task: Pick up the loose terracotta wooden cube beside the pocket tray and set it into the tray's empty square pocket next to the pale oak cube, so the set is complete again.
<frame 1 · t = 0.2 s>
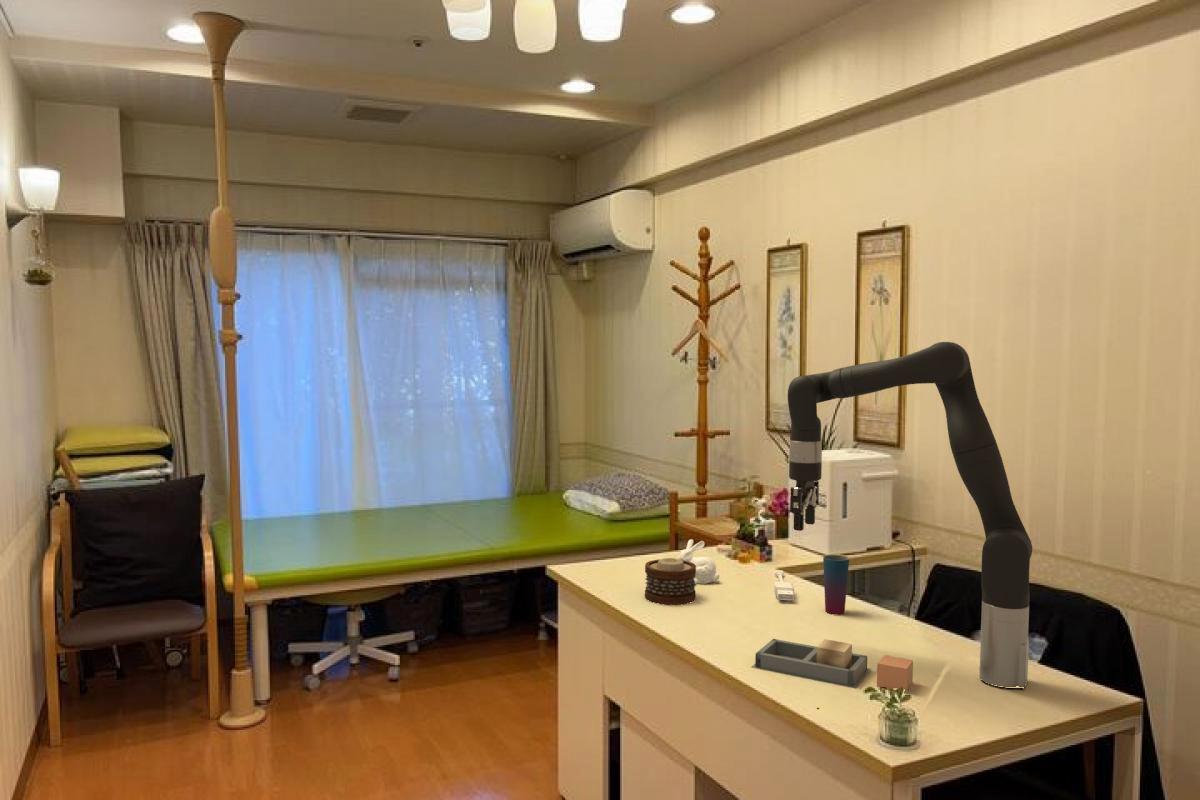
hand: (804, 527, 214), 29 cm above the table, tool pointing down, fingers open, 8 cm apart
rabbit: (696, 581, 273), on the table
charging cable: (782, 589, 265), on the table
spiked roller: (670, 598, 255), on the table
oak cube: (833, 672, 196), point 1 cm above the table, touching pocket tray
pocket tray: (810, 672, 198), on the table
cup: (834, 612, 242), on the table
terracotta cube: (894, 689, 189), on the table
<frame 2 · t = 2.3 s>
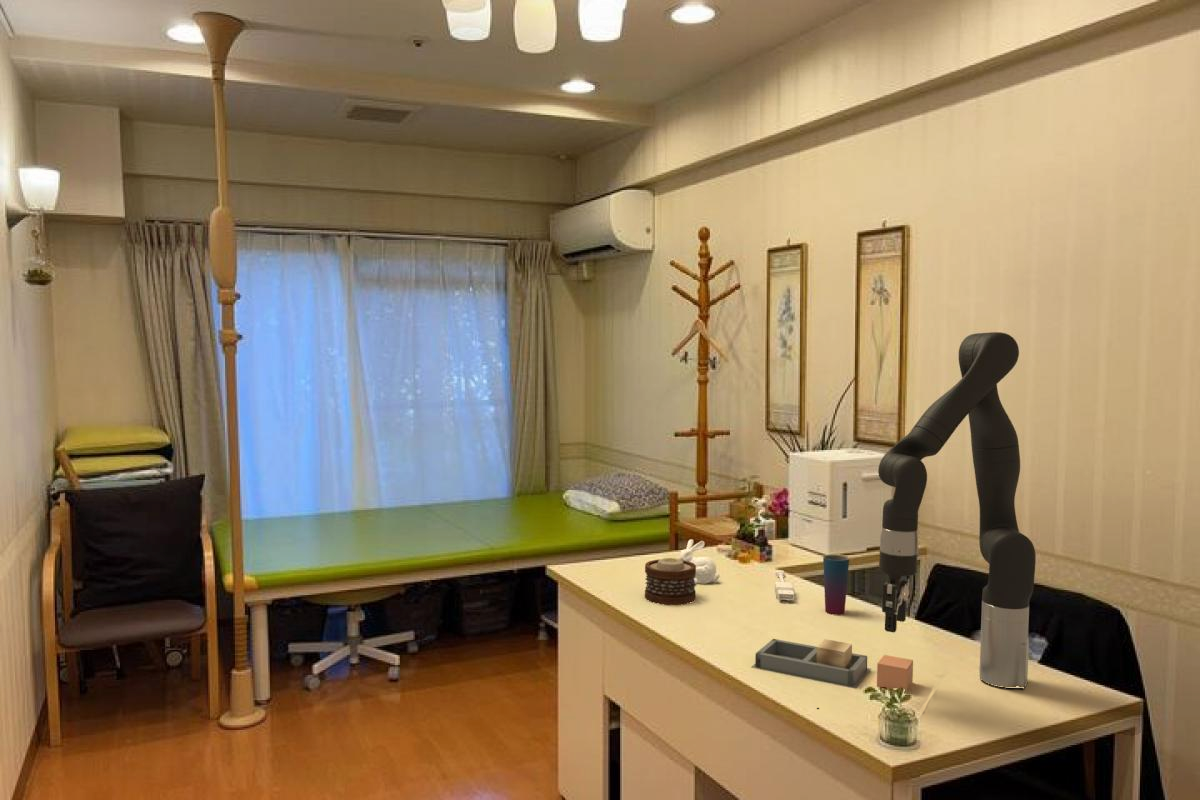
hand: (895, 626, 188), 13 cm above the table, tool pointing down, fingers open, 8 cm apart
nothing on the table moved.
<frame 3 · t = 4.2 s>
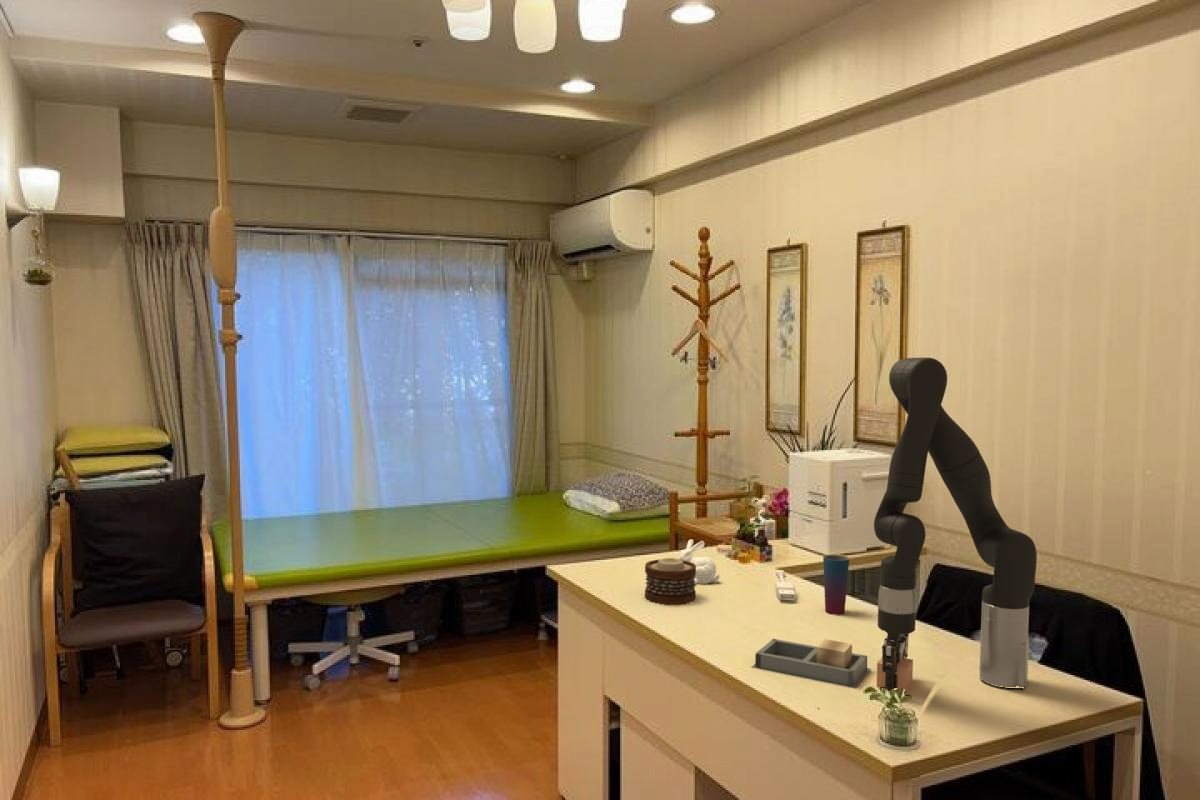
hand: (894, 685, 189), 1 cm above the table, tool pointing down, fingers closed on terracotta cube, 6 cm apart
terracotta cube: (894, 689, 189), on the table, touching gripper
everything else where it was.
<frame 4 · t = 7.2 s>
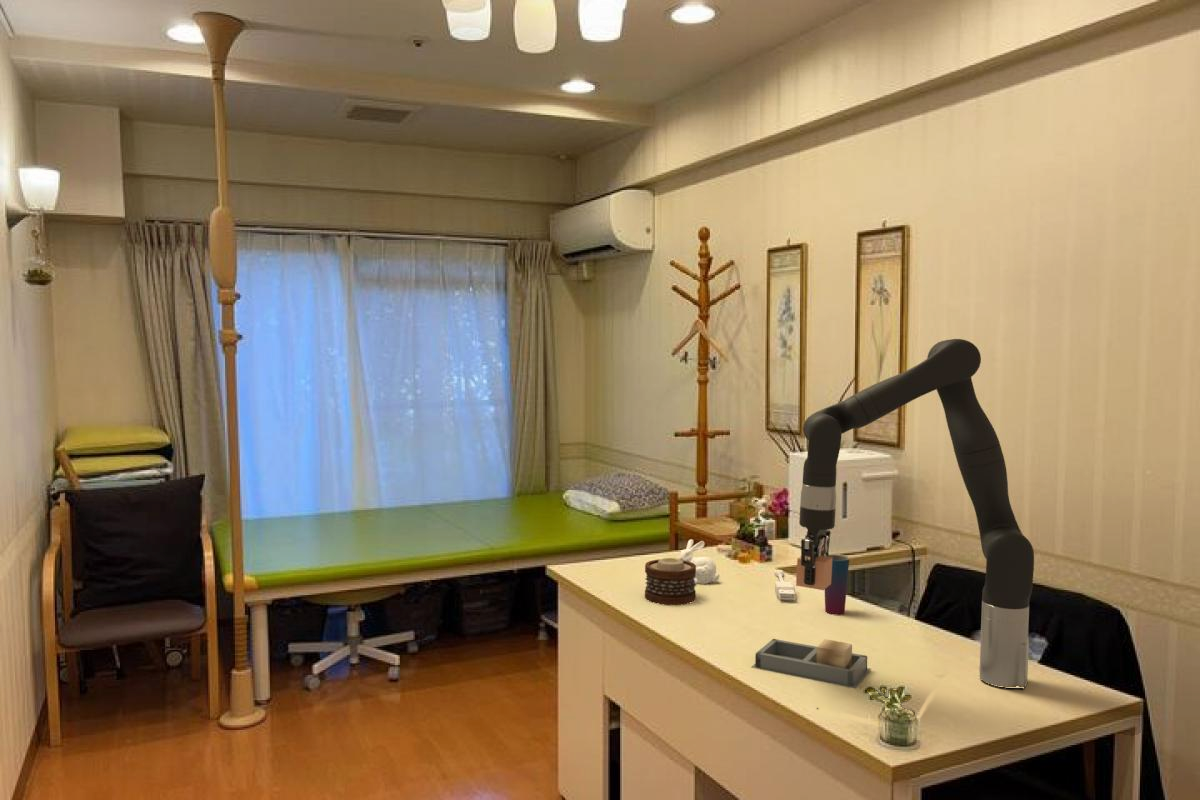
hand: (813, 580, 196), 21 cm above the table, tool pointing down, fingers closed on terracotta cube, 6 cm apart
terracotta cube: (813, 584, 196), point 20 cm above the table, touching gripper
everything else where it was.
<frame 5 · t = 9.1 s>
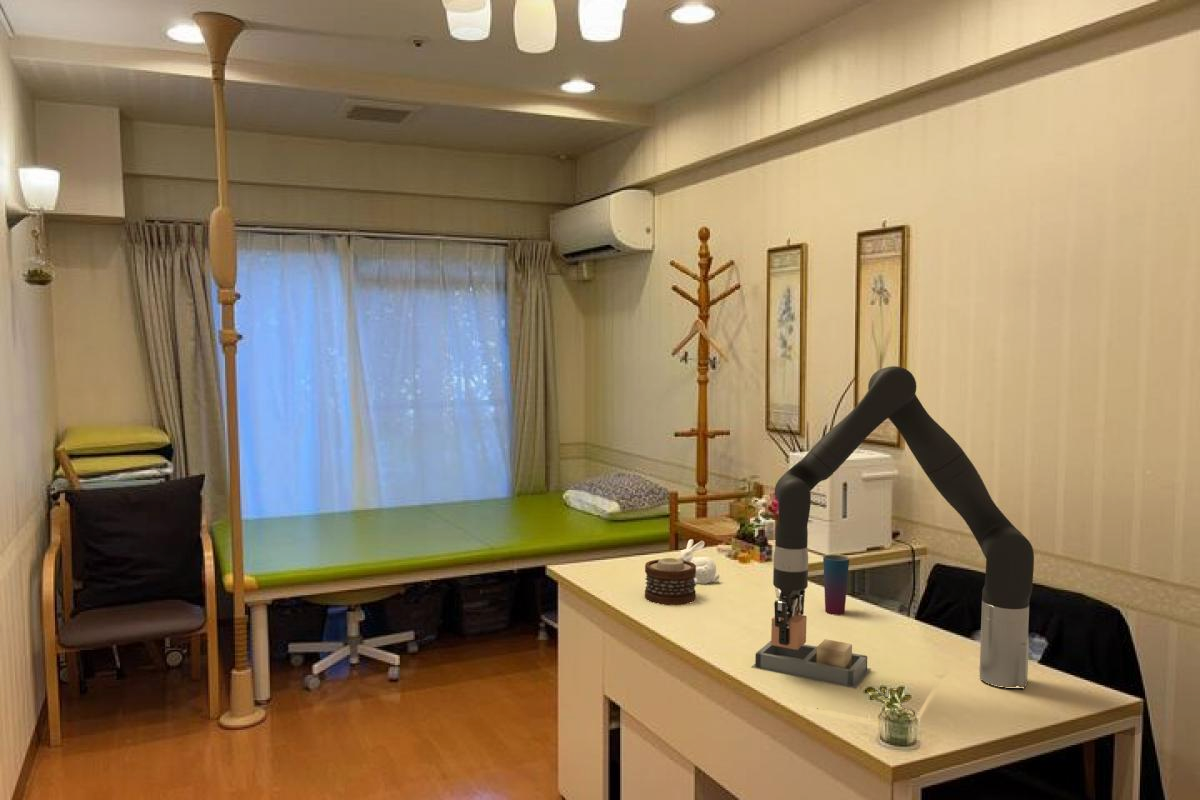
hand: (789, 639, 200), 6 cm above the table, tool pointing down, fingers closed on terracotta cube, 6 cm apart
terracotta cube: (788, 643, 200), point 6 cm above the table, touching gripper
when the fingers open (4 cm above the table, at t = 10.4 s): terracotta cube drops 2 cm, resting on pocket tray.
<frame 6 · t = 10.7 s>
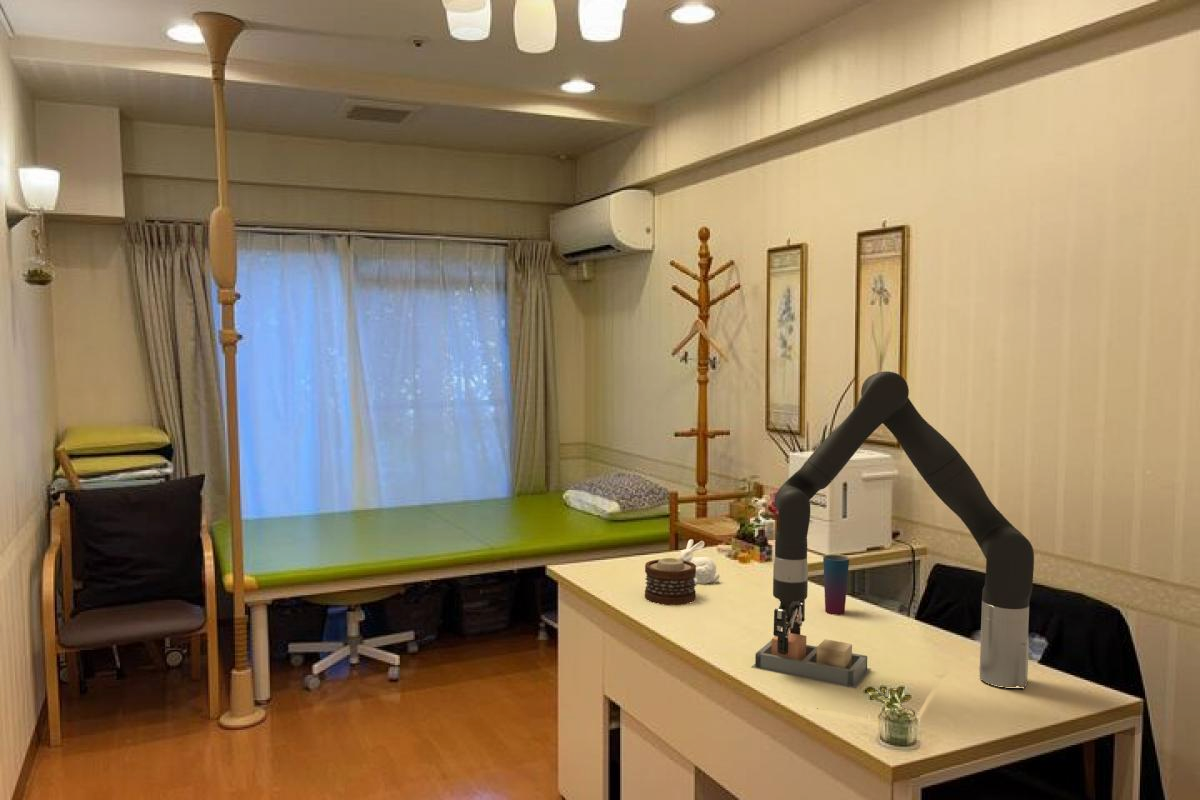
hand: (789, 648, 201), 5 cm above the table, tool pointing down, fingers open, 8 cm apart
terracotta cube: (788, 663, 201), point 1 cm above the table, touching pocket tray
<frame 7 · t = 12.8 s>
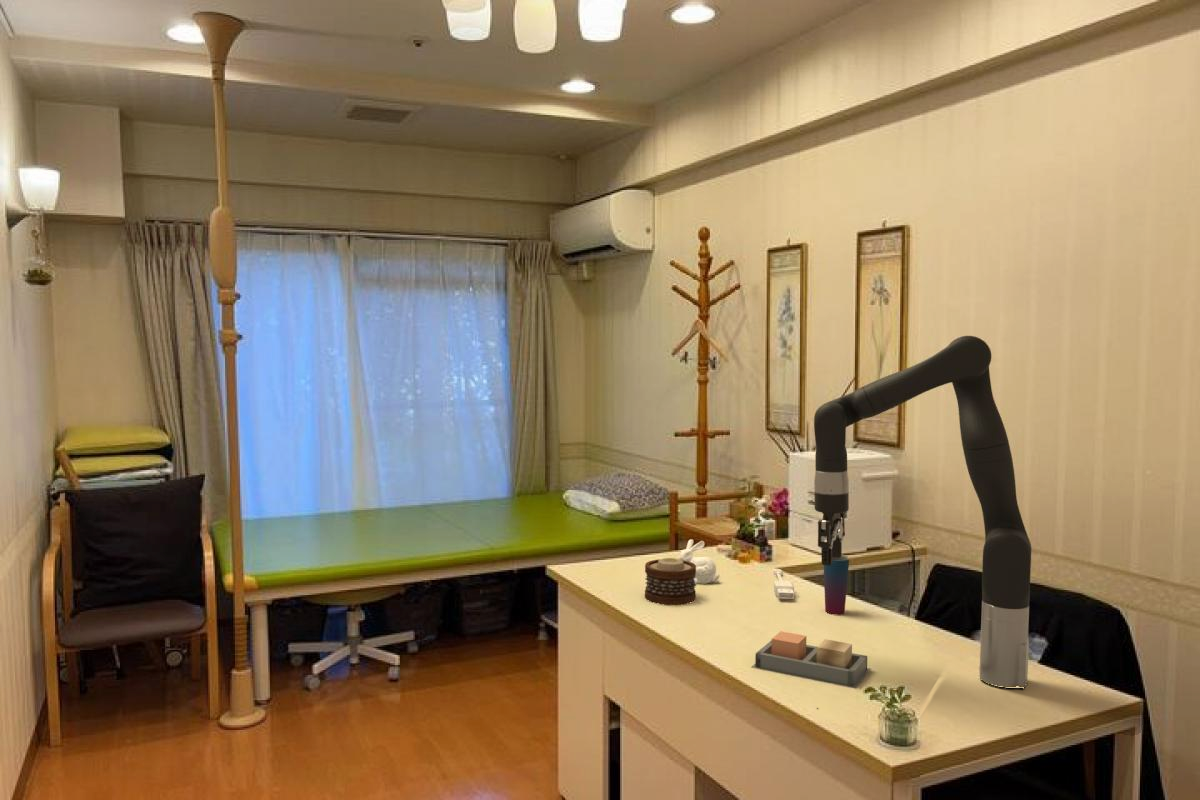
hand: (831, 560, 205), 23 cm above the table, tool pointing down, fingers open, 8 cm apart
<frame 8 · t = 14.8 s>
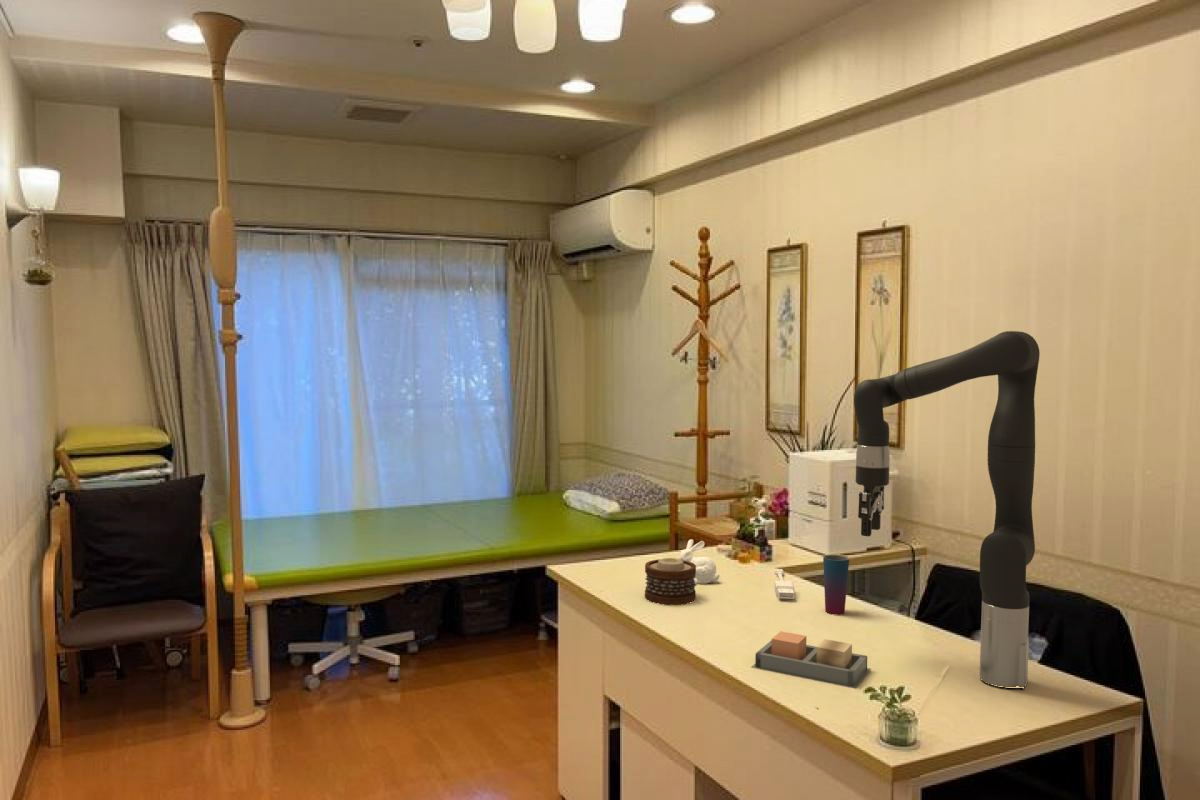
hand: (870, 532, 211), 28 cm above the table, tool pointing down, fingers open, 8 cm apart
at the end: terracotta cube 0.0 cm from the target spot on the pocket tray, point 1.0 cm above the pocket tray's base; terracotta cube tilted 0°; oak cube moved 0.0 cm from its start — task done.
